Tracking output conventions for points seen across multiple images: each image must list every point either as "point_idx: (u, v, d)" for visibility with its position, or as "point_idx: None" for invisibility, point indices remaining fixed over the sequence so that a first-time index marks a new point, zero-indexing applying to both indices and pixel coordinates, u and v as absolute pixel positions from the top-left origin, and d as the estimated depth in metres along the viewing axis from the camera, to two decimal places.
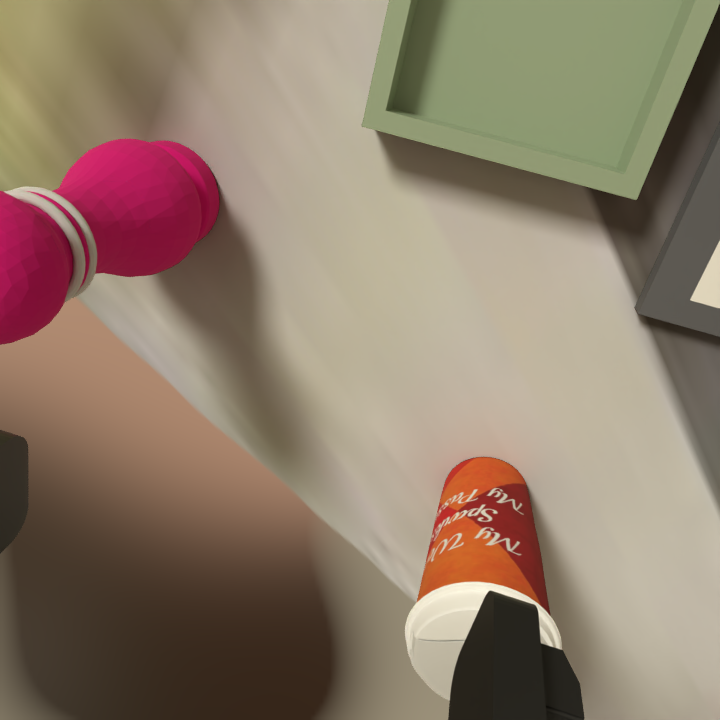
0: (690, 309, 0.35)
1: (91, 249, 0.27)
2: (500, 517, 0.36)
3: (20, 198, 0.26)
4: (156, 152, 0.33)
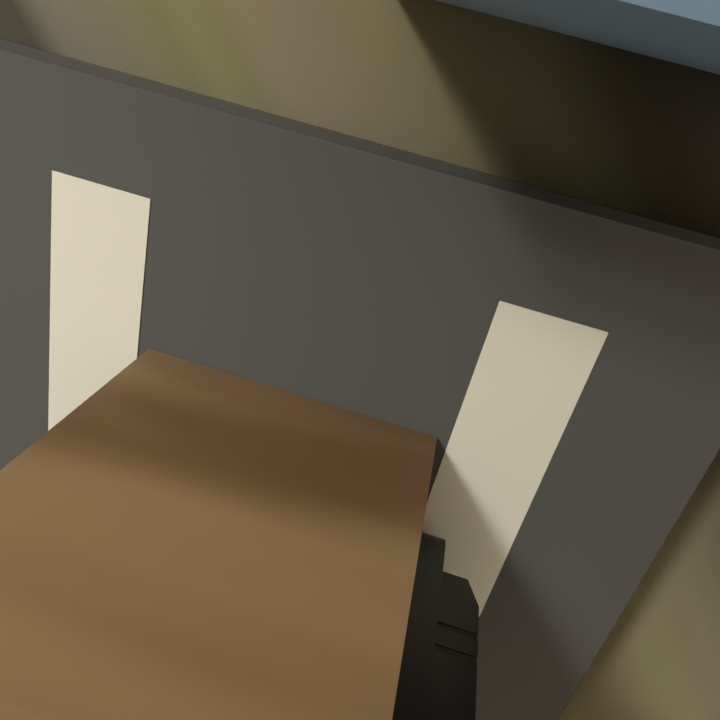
0: None
1: None
2: None
3: None
4: None
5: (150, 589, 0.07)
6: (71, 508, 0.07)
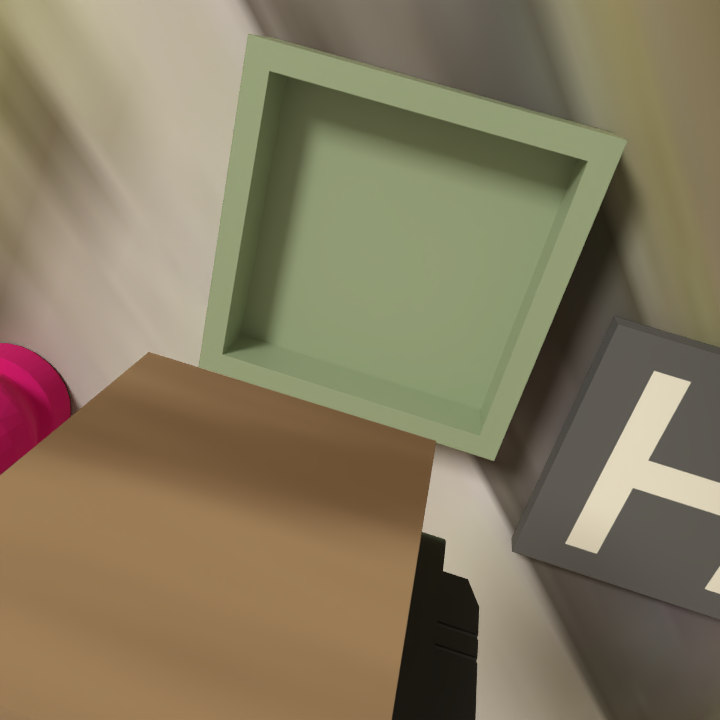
0: (566, 552, 0.32)
1: None
2: None
3: None
4: None
5: (150, 595, 0.07)
6: (72, 512, 0.07)
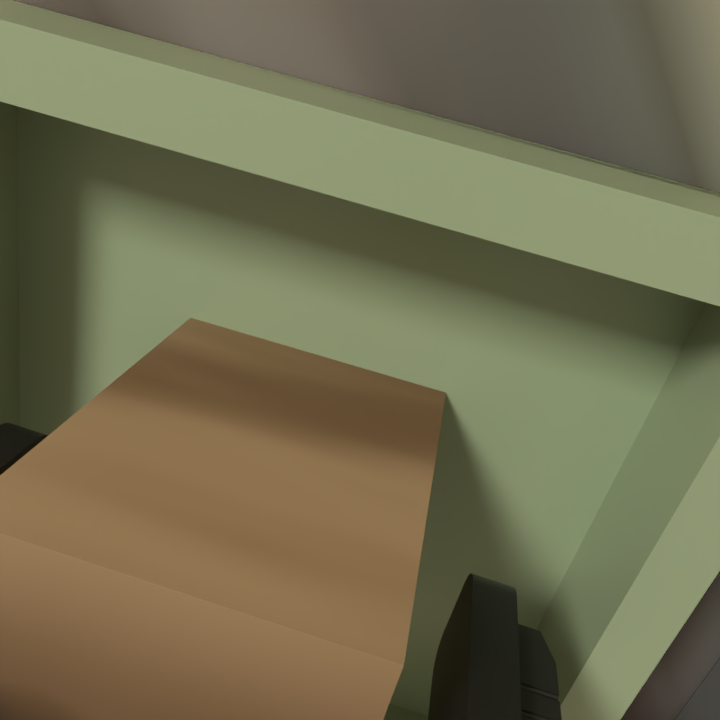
0: None
1: None
2: None
3: None
4: None
5: (214, 497, 0.08)
6: (143, 438, 0.09)
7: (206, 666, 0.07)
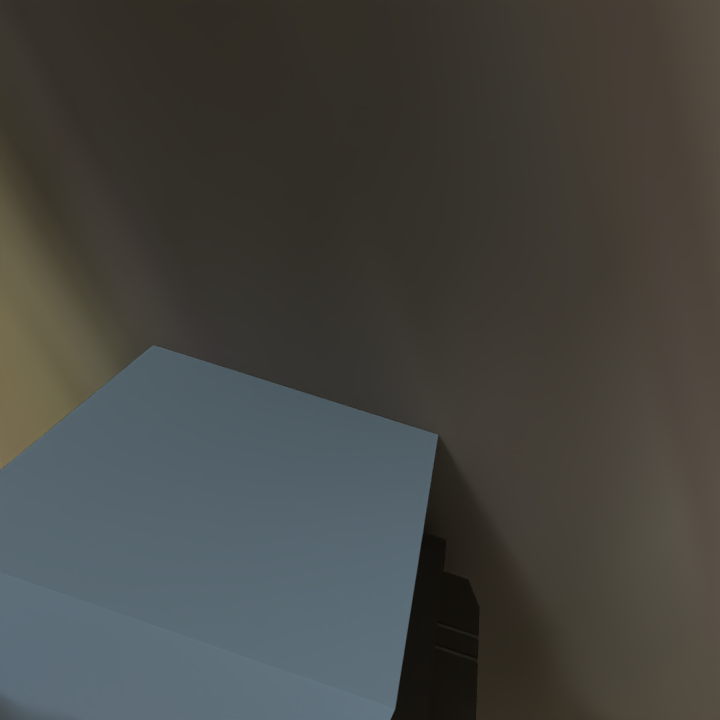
0: None
1: None
2: None
3: None
4: None
5: None
6: None
7: None
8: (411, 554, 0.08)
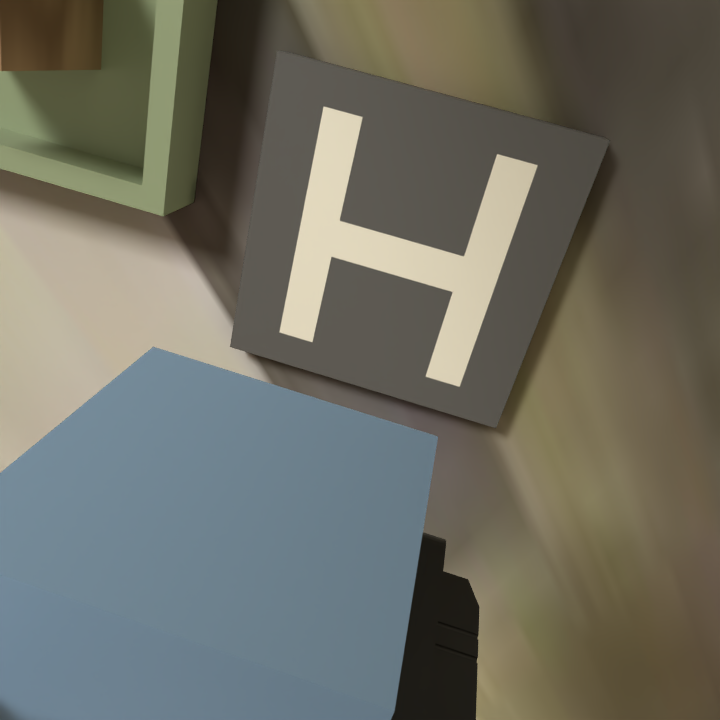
0: (282, 342, 0.30)
1: None
2: None
3: None
4: None
5: None
6: None
7: None
8: (411, 557, 0.08)
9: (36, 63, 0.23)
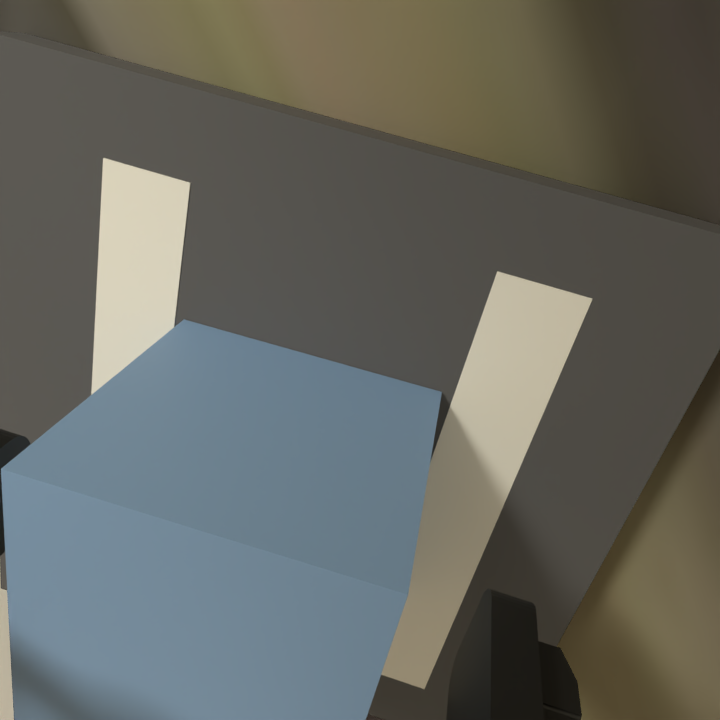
0: None
1: None
2: None
3: None
4: None
5: None
6: None
7: None
8: (419, 484, 0.09)
9: None
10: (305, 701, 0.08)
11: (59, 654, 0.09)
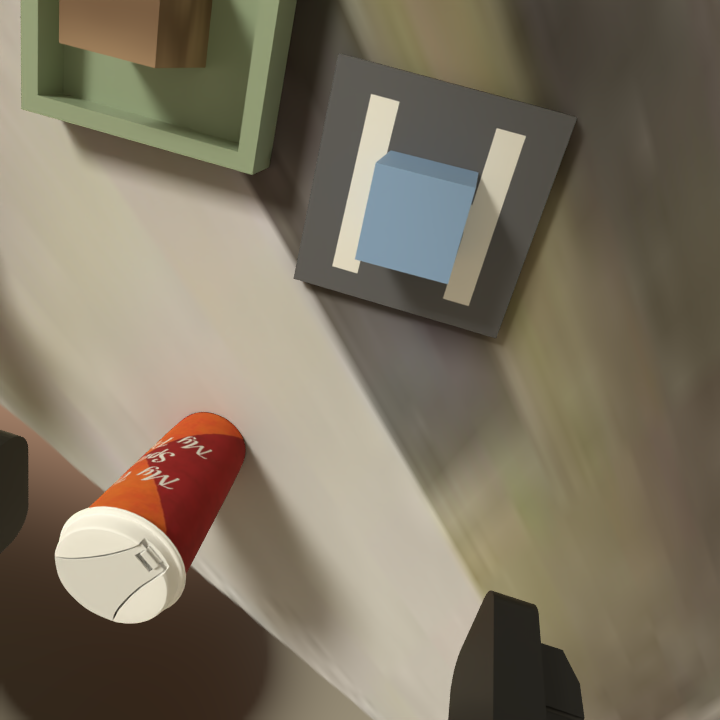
0: (334, 274, 0.39)
1: None
2: (174, 459, 0.40)
3: None
4: None
5: None
6: None
7: None
8: (475, 180, 0.33)
9: (172, 62, 0.32)
10: (446, 229, 0.32)
11: (377, 225, 0.33)
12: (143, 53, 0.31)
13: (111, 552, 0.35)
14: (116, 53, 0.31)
